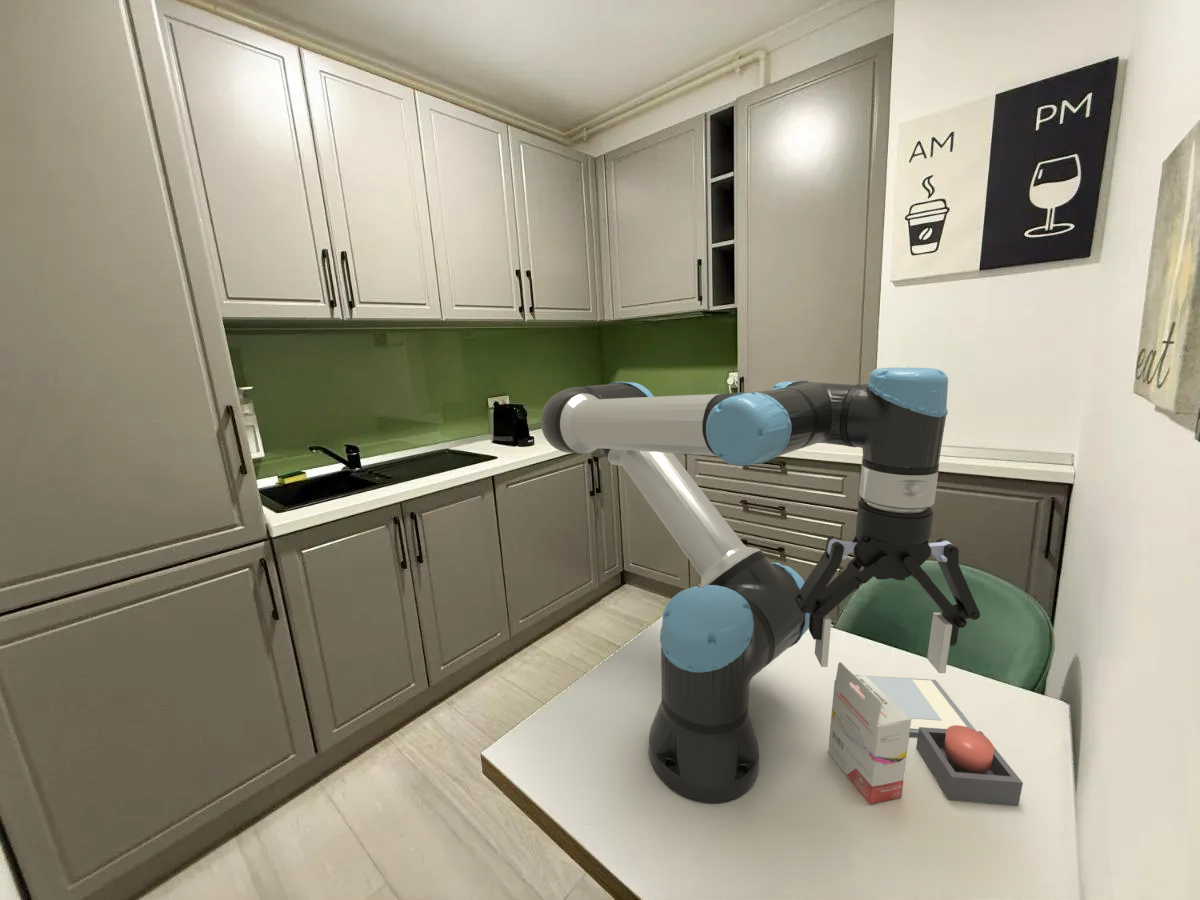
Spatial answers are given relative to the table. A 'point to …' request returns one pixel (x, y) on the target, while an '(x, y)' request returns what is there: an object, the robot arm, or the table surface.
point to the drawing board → (921, 702)
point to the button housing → (968, 773)
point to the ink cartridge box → (868, 737)
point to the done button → (969, 748)
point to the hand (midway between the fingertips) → (877, 663)
